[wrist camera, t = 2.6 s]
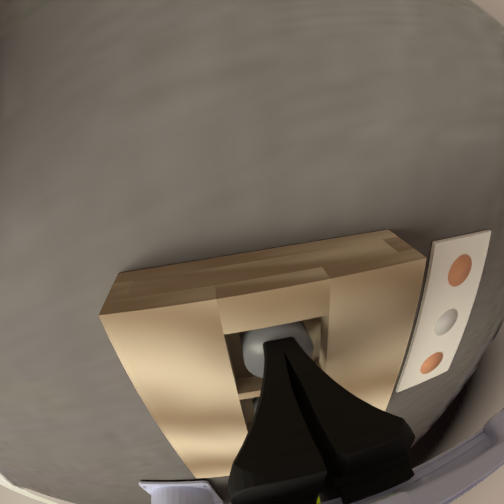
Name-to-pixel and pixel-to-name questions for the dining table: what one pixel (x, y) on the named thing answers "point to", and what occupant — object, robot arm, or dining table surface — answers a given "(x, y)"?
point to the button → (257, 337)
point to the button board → (255, 317)
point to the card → (444, 305)
